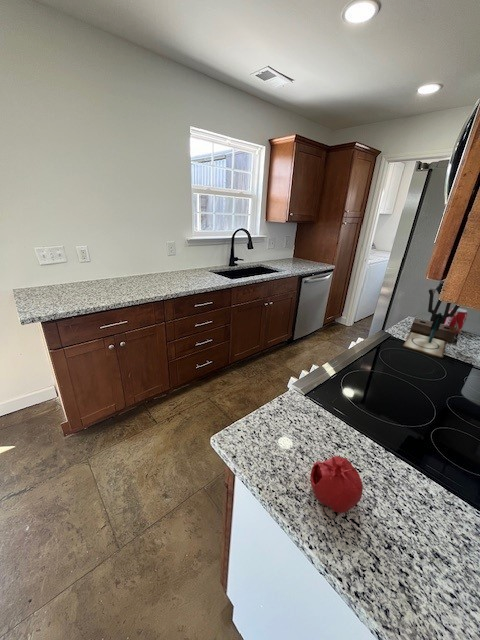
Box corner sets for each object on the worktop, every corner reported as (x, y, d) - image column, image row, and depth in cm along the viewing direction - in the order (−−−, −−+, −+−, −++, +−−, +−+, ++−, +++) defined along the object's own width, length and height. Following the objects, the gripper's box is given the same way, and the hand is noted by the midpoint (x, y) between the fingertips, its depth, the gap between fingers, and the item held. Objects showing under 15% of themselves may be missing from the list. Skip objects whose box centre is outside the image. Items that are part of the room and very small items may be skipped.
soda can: (457, 337, 123) (466, 313, 118) (439, 332, 128) (448, 309, 123) (461, 333, 127) (470, 310, 122) (444, 328, 132) (452, 305, 127)
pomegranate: (366, 494, 55) (377, 463, 51) (343, 531, 48) (354, 499, 45) (323, 462, 61) (330, 432, 57) (298, 491, 55) (304, 460, 51)
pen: (431, 342, 116) (442, 312, 111) (431, 343, 115) (442, 313, 110) (428, 341, 117) (438, 311, 112) (427, 342, 116) (438, 312, 111)
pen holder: (412, 327, 132) (415, 317, 130) (453, 337, 123) (456, 327, 121) (409, 331, 127) (412, 322, 125) (452, 343, 118) (456, 333, 116)
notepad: (445, 342, 118) (446, 341, 118) (442, 358, 105) (442, 357, 105) (409, 332, 126) (410, 331, 126) (402, 346, 113) (403, 345, 113)
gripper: (431, 273, 105) (413, 327, 115) (477, 281, 97) (454, 337, 107) (433, 270, 110) (416, 321, 120) (477, 277, 102) (455, 331, 112)
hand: (434, 329), depth 113 cm, fingers closed on pen
